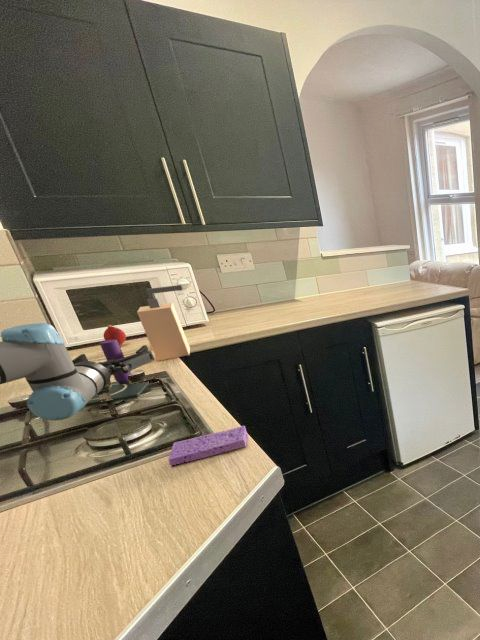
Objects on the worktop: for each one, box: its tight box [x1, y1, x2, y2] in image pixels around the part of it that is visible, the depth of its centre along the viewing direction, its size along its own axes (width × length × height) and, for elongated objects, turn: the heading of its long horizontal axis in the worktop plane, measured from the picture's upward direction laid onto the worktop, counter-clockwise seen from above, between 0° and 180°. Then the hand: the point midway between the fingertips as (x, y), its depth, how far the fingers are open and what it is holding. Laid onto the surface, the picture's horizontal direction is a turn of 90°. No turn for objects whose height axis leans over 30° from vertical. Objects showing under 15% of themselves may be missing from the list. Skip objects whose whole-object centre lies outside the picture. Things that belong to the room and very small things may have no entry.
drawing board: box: [84, 375, 155, 407], centre depth 112 cm, size 20×15×1 cm
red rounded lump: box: [103, 324, 127, 346], centre depth 151 cm, size 6×6×8 cm
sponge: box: [167, 425, 248, 466], centre depth 83 cm, size 7×13×2 cm, turn 118°
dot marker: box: [99, 339, 132, 384], centre depth 115 cm, size 4×4×12 cm
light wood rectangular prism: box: [136, 284, 191, 362], centre depth 137 cm, size 13×9×22 cm
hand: (116, 354), depth 116 cm, fingers open, 13 cm apart
